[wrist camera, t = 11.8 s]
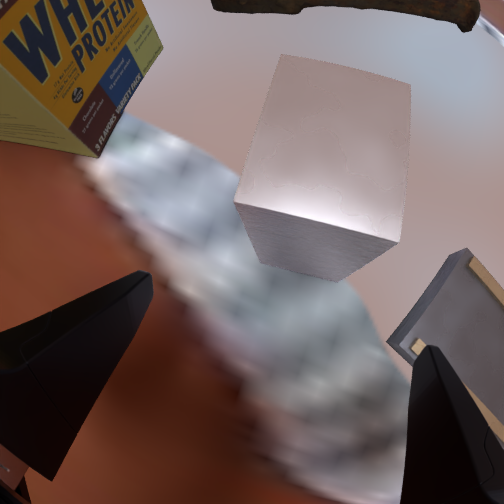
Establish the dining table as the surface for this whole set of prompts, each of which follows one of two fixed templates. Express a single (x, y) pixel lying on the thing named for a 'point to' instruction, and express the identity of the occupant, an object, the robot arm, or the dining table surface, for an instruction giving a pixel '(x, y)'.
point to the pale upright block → (326, 169)
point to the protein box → (71, 69)
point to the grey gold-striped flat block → (462, 331)
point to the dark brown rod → (416, 3)
